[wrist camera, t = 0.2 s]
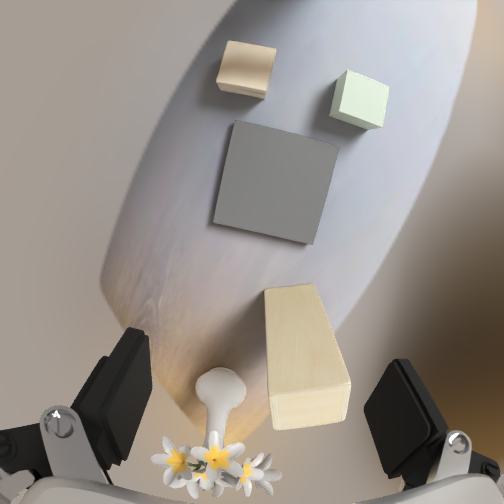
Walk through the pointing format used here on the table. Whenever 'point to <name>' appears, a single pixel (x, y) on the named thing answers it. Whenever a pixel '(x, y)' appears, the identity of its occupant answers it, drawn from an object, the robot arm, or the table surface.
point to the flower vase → (216, 445)
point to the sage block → (359, 100)
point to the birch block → (246, 69)
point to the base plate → (275, 182)
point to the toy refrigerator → (303, 360)
